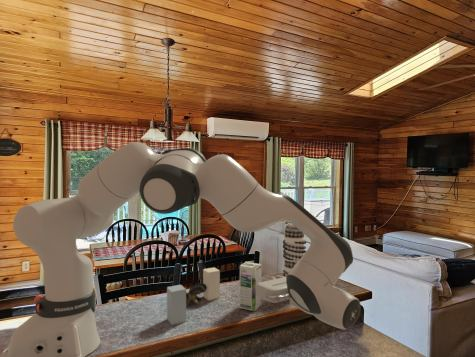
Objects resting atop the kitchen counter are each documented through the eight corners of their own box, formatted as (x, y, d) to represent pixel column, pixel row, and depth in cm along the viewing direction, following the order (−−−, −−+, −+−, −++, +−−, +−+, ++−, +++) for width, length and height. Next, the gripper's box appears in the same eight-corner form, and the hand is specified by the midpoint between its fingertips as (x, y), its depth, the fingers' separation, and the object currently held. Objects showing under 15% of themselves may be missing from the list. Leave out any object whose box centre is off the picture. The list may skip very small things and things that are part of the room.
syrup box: (238, 308, 107) (239, 265, 107) (246, 302, 112) (246, 261, 112) (254, 312, 105) (254, 267, 104) (261, 305, 110) (261, 263, 109)
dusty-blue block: (171, 325, 96) (171, 291, 95) (167, 319, 100) (167, 287, 99) (186, 321, 98) (185, 289, 98) (180, 315, 102) (180, 284, 102)
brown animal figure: (200, 306, 106) (211, 292, 114) (188, 288, 106) (200, 275, 114) (184, 314, 109) (196, 300, 117) (173, 297, 109) (185, 283, 117)
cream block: (208, 300, 114) (208, 272, 113) (203, 296, 118) (203, 269, 117) (219, 298, 116) (219, 270, 116) (214, 293, 120) (214, 267, 120)
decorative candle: (306, 285, 129) (307, 223, 128) (305, 293, 120) (305, 227, 119) (284, 283, 131) (284, 222, 131) (280, 291, 123) (281, 226, 122)
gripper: (273, 313, 80) (244, 295, 92) (331, 296, 91) (299, 282, 103) (273, 288, 80) (244, 273, 92) (331, 274, 91) (298, 263, 103)
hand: (273, 278), depth 98 cm, fingers closed
